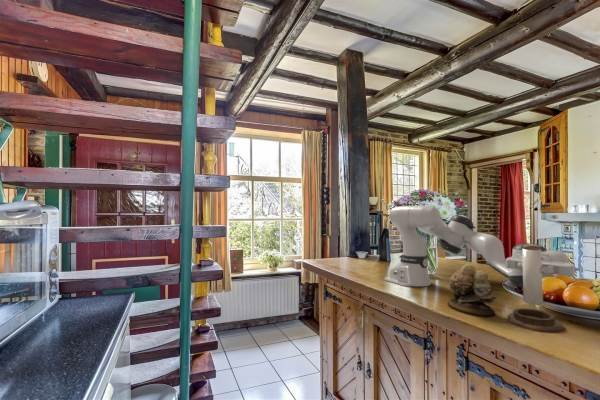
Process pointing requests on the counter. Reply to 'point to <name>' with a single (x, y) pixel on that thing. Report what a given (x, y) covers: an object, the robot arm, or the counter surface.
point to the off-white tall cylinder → (532, 274)
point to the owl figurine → (471, 292)
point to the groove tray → (538, 328)
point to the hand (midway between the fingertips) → (531, 268)
